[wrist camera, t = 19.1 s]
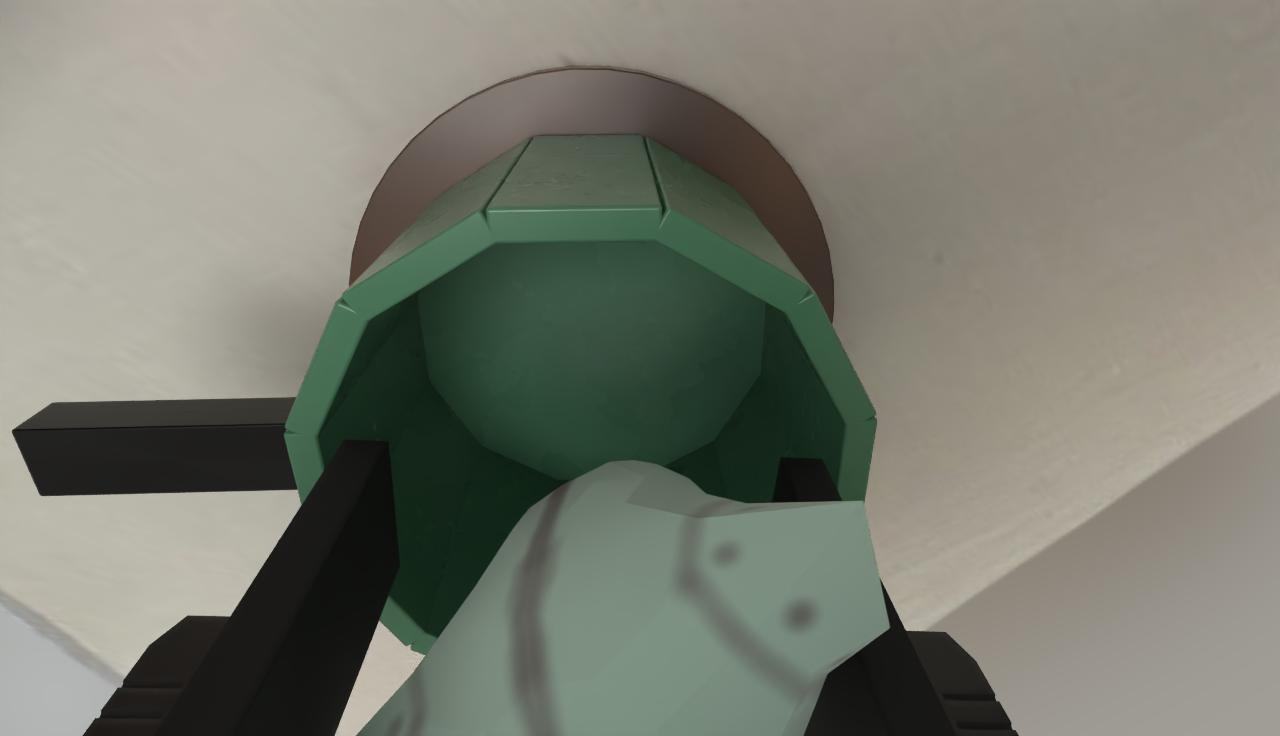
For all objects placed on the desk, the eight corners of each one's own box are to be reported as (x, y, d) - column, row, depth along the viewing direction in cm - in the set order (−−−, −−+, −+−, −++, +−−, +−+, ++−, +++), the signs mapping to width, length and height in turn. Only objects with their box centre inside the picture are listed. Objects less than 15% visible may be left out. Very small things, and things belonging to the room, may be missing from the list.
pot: (136, 139, 18) (-177, 216, 11) (796, 132, 19) (913, 201, 11) (241, 492, 23) (70, 709, 16) (767, 479, 23) (836, 683, 16)
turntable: (868, 85, 19) (881, 88, 18) (786, 510, 25) (792, 528, 24) (334, 45, 18) (320, 46, 17) (380, 496, 24) (371, 514, 23)
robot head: (751, 298, 12) (911, 600, 6) (859, 472, 13) (1074, 855, 7) (374, 526, 13) (178, 952, 7) (510, 656, 15) (444, 1097, 9)
